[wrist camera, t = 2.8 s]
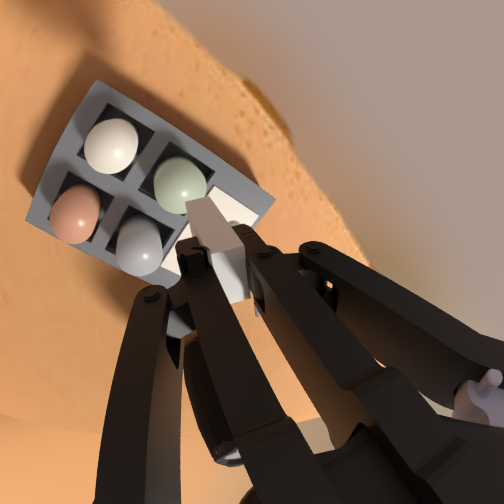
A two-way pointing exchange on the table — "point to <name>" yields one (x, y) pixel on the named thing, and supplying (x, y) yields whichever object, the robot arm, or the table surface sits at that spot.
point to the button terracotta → (76, 213)
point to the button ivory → (111, 145)
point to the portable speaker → (208, 408)
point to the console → (139, 181)
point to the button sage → (178, 183)
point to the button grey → (139, 246)
